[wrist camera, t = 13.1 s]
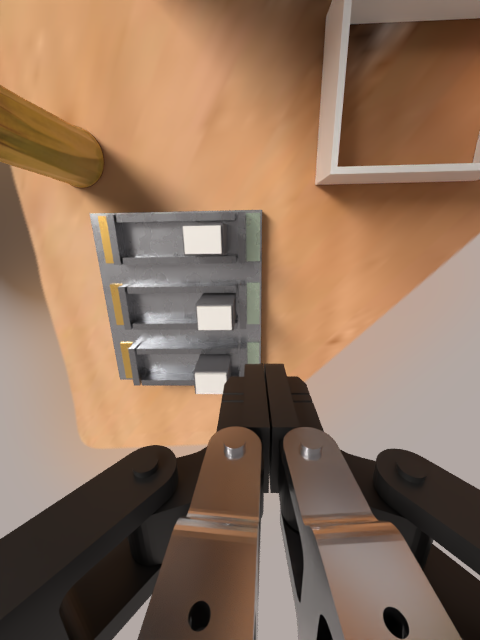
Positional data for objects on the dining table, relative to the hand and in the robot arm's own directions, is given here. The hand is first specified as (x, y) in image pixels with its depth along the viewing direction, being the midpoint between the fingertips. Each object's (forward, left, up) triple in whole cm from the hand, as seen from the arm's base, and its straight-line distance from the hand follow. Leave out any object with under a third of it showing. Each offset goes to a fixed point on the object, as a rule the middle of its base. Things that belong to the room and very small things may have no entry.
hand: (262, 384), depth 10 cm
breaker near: (-5, -5, -23) cm, 24 cm away
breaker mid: (+3, -4, -23) cm, 24 cm away
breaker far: (+11, -5, -23) cm, 26 cm away
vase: (-14, -20, -25) cm, 35 cm away
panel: (+3, -9, -25) cm, 27 cm away
